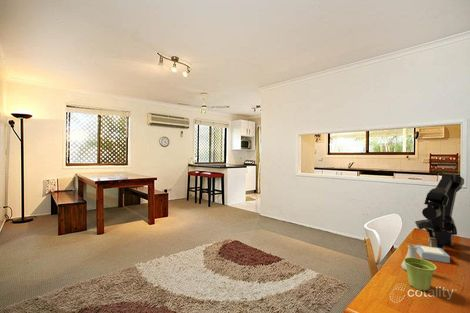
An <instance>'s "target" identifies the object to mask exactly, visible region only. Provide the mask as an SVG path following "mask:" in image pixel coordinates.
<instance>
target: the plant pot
mask: <svg viewBox="0 0 470 313" xmlns="http://www.w3.org/2000/svg"><path fill="white" fill-rule="evenodd" d="M403 261H404V262H405V265H406V268H407V271H406V273H407V275H406V276H407V281H408V282H407V283H408V285H409V286H411V287H413V288H414V289H416V290H418V291H422V290H423V291H424V292H425V291H430V288H431V284H432V280H433V276H434V273H435V271H436V270H437V266H436V264H434V263H432V262H431V261H430V260H426V259H422V258H420V257H419V258H412V257H408V258H405V257H404V259H403Z"/></svg>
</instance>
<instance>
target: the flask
mask: <svg viewBox="0 0 470 313" xmlns="http://www.w3.org/2000/svg"><path fill="white" fill-rule="evenodd" d="M407 248H408V249H407V253H406V255H405V257H404V259H405V258H408V257H412V258H418V253H417V252H416V250H417V246H416V245H414V244H407ZM400 266H401V268H402V270H405V271H406V272H407V268H406V265H405V262H404V260H403V261H402V263H401V265H400Z"/></svg>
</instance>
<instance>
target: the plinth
mask: <svg viewBox="0 0 470 313" xmlns="http://www.w3.org/2000/svg"><path fill="white" fill-rule="evenodd" d="M415 246H417V250H416V252H417V255H419V258H420V259H423V260H426V261H432V262H439V263H444V264H450V263H451V256H450V255H449V254H448V253H447V252H446V251H445V249H444V250H442V249H441V248H436V247H429V246H428V245H421V244H415Z"/></svg>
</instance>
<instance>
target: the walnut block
mask: <svg viewBox="0 0 470 313" xmlns="http://www.w3.org/2000/svg"><path fill="white" fill-rule="evenodd" d="M427 246H429V247H436V248H437V243H436V239H435V238H432V237H427ZM442 250H444V251H445V246H444V247H443V248H442Z"/></svg>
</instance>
